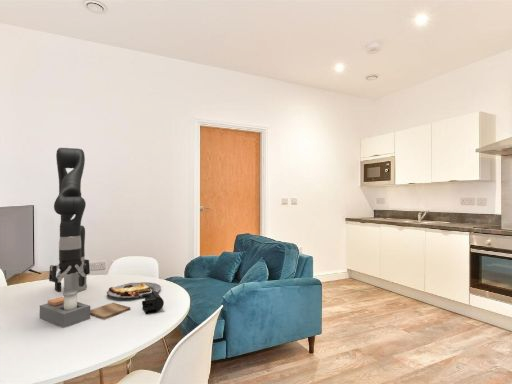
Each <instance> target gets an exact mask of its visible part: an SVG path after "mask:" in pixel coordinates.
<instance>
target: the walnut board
mask: <svg viewBox="0 0 512 384" xmlns="http://www.w3.org/2000/svg"><path fill="white" fill-rule="evenodd" d="M128 311H131V307H130V306H126V305H123V304H120V303H116V302H111V303H107V304H104V305H101V306H99V307H96V308H92V309H90V316H92V317H95V318H98V319H101V320H107V319H109V318H112V317H113V318H114V317H115V316H117V315H120V314H123V313H126V312H128Z"/></svg>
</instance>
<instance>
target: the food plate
mask: <svg viewBox="0 0 512 384" xmlns="http://www.w3.org/2000/svg"><path fill="white" fill-rule="evenodd" d="M161 288H162V286H161V285H160V284H158V283H155V282H145V281H144V282H141V281H140V282H129V283H124V284H120V285H117V286H110V287H109V288H108V290H107V292H106V294H107V296H109V297H112V298H119V299H125V298H128V299H131V298H132V299H142V294H146V293H151V291H156V292H157V293H158V292H159V291H160V290H161Z"/></svg>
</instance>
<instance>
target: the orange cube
mask: <svg viewBox="0 0 512 384" xmlns="http://www.w3.org/2000/svg"><path fill="white" fill-rule="evenodd" d="M47 303H48V304H51V305H54V306H57V305H60V304H64V296H59V297H56V298H53V299H52V298H51V299H49V300H47Z"/></svg>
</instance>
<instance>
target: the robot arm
mask: <svg viewBox="0 0 512 384" xmlns="http://www.w3.org/2000/svg"><path fill="white" fill-rule="evenodd" d="M85 156H86V155H85V152H84V150H83V149H82V148H76V147H75V148H70V147H58V148H57V150H56V165H57V173H58V174H57V175H58V196H57V197H56V199H55V201H54V204H53V209H54V212H55V213H56V214H58V215H60V223H59V241H58V261H59V263H58V264H55V265H53V264H51V265H49V273H48V275H49V277H48V281H49V282H52V283H54V291H55V292H56V293H61V292H62V280H63V293H64V292H66V291H71V290H76V291H77V293H78V292H83V291H84V290H86V289H87V288H88V286H87V281H88V280H87V275H90V274H91V272H90V270H91V269H90V260H89V259H87V258H86V259H85V256H86V255H85V253H86V251H85V243H86V241H85V240H86V228H85V226H84V225H82V224H81V223H82V220H83V216H84V212H85V209H86V199H85V198H84V197H82V189H81V187H82V186H81V185H82V184H81V183H82V177H83V173H84V169H85V161H86V158H85ZM67 169H72V170H71V171H69V172H68V171H67ZM58 270H59V271H58ZM57 271H58V273H57Z"/></svg>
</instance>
